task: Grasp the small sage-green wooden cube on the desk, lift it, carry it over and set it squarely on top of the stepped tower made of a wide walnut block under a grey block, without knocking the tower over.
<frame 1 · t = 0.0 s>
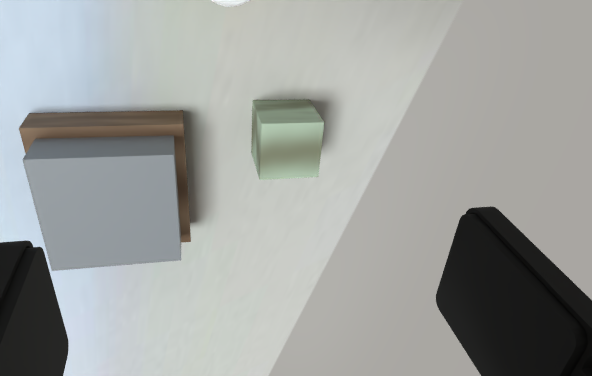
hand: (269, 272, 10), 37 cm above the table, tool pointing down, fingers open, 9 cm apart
tower base block: (118, 171, 49), on the table
tower top block: (115, 192, 45), point 3 cm above the table
sage cube: (279, 126, 49), on the table
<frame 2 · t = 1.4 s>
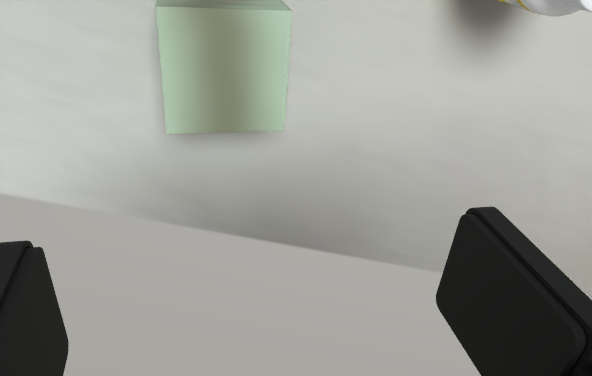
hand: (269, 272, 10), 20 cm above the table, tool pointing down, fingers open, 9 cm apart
sage cube: (217, 42, 27), on the table
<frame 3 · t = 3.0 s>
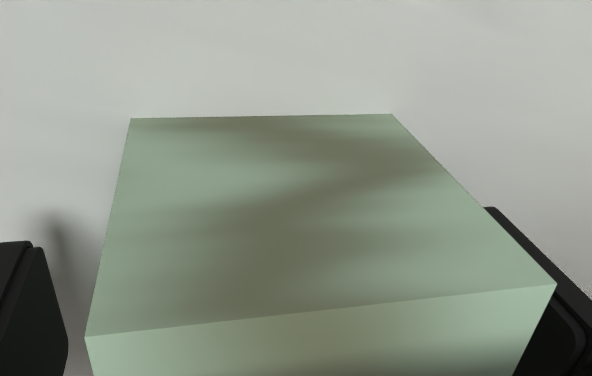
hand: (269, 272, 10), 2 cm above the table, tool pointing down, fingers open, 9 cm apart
sage cube: (264, 220, 12), on the table
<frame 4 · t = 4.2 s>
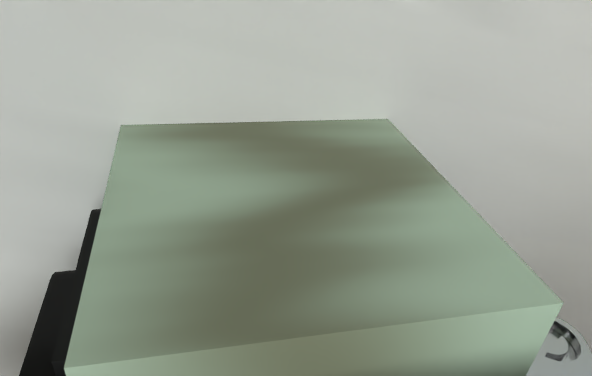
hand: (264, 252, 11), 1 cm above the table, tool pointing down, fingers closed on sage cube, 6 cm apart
sage cube: (259, 229, 12), on the table, touching gripper
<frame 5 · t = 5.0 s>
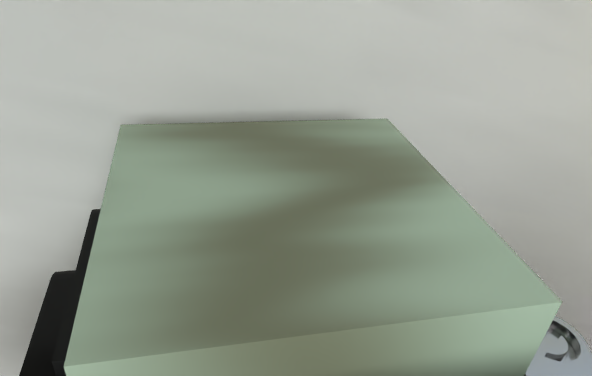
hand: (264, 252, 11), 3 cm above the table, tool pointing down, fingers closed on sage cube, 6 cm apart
sage cube: (258, 229, 12), point 2 cm above the table, touching gripper
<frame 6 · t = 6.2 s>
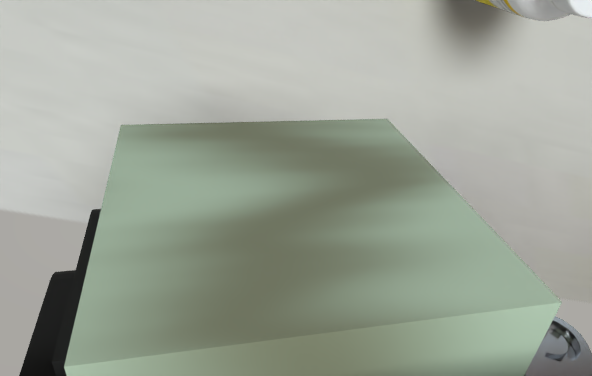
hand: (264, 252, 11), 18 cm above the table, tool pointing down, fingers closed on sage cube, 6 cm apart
sage cube: (258, 229, 12), point 17 cm above the table, touching gripper
when the fingers open (9 cm above the table, at t = 11.9 s): sage cube stays where it is, resting on tower top block.
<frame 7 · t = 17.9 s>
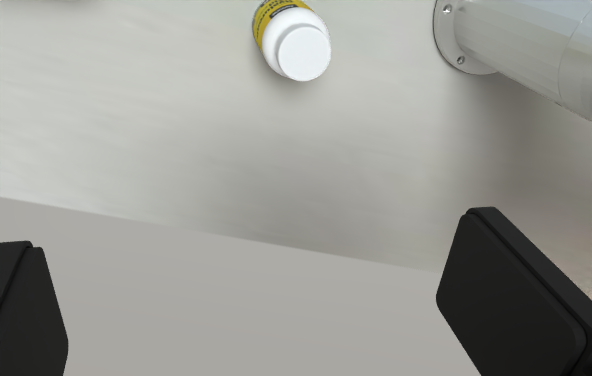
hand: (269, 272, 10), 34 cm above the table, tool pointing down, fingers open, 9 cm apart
supplement bottle: (280, 23, 42), on the table
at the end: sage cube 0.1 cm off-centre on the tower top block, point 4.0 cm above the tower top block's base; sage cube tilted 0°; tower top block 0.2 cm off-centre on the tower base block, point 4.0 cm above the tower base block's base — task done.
